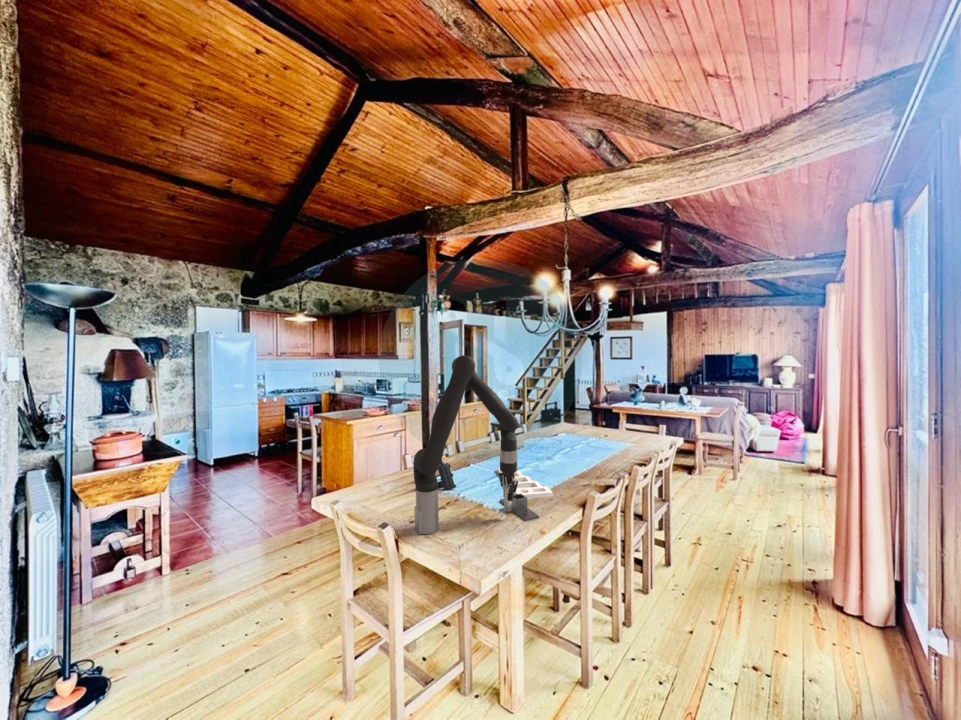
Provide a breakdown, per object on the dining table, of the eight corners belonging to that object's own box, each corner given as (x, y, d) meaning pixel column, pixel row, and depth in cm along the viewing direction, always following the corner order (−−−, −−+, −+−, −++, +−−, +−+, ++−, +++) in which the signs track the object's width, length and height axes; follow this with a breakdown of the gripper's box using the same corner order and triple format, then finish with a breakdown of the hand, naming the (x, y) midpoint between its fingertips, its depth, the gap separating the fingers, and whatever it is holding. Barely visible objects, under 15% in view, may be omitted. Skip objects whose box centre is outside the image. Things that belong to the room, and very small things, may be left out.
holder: (497, 472, 244) (497, 467, 244) (525, 469, 248) (525, 465, 248) (518, 500, 200) (518, 495, 200) (552, 497, 204) (552, 492, 203)
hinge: (525, 521, 176) (525, 507, 176) (499, 501, 198) (499, 489, 197) (539, 518, 179) (539, 504, 179) (512, 499, 201) (512, 487, 200)
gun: (419, 464, 212) (447, 455, 215) (428, 494, 214) (456, 485, 216) (420, 466, 210) (448, 457, 212) (429, 496, 211) (456, 487, 214)
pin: (506, 511, 175) (506, 486, 175) (502, 508, 178) (503, 484, 178) (512, 510, 177) (513, 485, 176) (509, 507, 180) (509, 483, 179)
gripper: (493, 456, 182) (493, 495, 182) (508, 465, 169) (508, 506, 169) (508, 455, 185) (508, 492, 185) (524, 463, 172) (523, 503, 172)
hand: (508, 499), depth 177 cm, fingers closed on pin, 3 cm apart
